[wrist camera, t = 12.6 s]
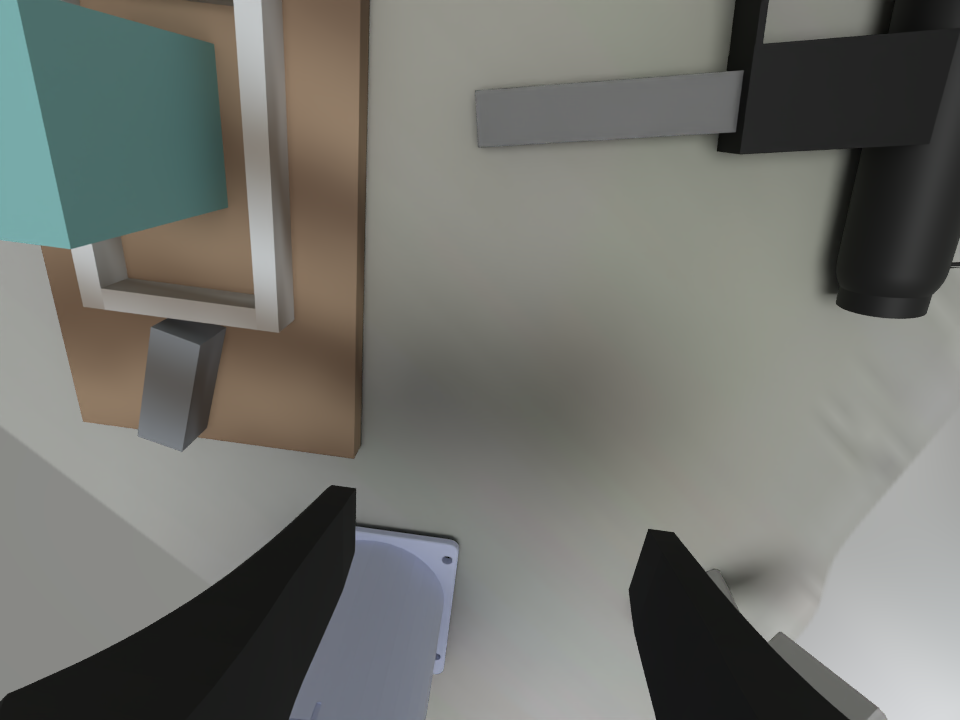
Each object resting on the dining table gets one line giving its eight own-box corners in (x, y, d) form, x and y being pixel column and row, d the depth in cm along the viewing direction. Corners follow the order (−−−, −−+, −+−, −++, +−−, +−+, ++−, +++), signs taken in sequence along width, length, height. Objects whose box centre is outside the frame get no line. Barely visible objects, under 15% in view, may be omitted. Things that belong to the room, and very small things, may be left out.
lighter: (650, 617, 26) (700, 804, 19) (637, 595, 26) (683, 778, 18) (792, 571, 24) (907, 759, 17) (780, 546, 24) (895, 729, 17)
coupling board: (360, 445, 23) (340, 484, 21) (100, 410, 23) (49, 444, 21) (374, -277, 14) (342, -371, 11) (-64, -326, 14) (-196, -428, 11)
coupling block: (214, 43, 16) (13, -14, 10) (228, 207, 18) (70, 249, 12) (127, 33, 16) (-129, -31, 10) (150, 197, 18) (-48, 233, 12)
